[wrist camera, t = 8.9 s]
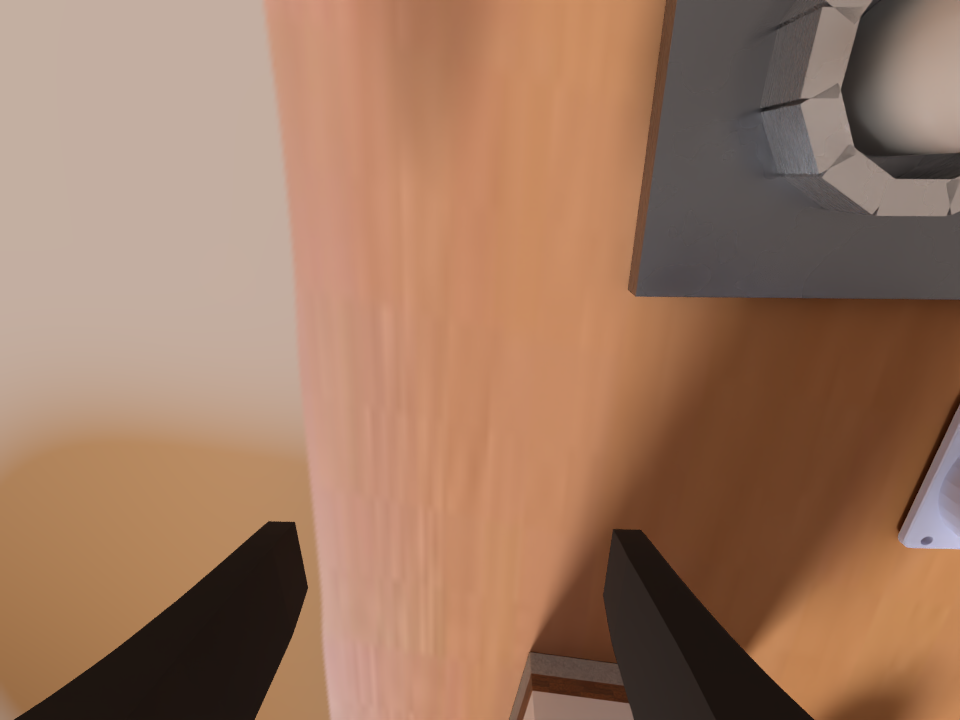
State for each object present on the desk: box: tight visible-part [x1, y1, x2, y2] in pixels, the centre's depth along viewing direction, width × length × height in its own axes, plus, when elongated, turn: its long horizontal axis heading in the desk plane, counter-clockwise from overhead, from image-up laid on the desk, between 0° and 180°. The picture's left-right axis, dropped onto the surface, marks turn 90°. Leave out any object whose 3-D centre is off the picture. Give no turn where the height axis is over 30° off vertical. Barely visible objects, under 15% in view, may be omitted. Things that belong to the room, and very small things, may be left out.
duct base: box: [628, 0, 960, 300], centre depth 13 cm, size 14×14×3 cm
